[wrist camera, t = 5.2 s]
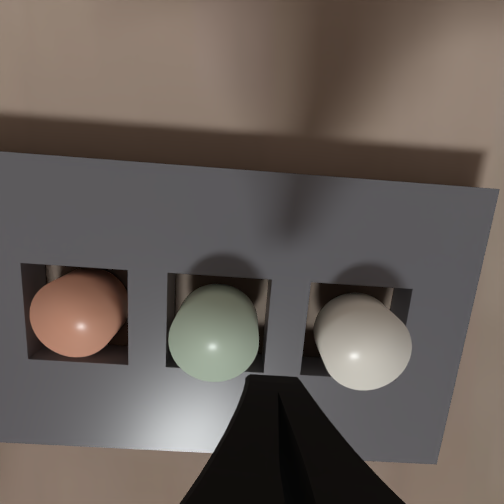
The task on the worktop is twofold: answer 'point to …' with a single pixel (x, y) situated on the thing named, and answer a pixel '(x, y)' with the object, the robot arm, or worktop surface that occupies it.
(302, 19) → the worktop surface
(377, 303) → the cream button
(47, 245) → the button panel
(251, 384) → the robot arm
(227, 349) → the sage button
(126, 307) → the terracotta button
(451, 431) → the worktop surface
